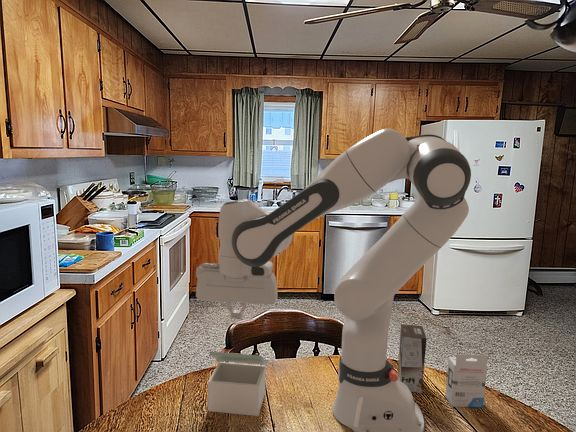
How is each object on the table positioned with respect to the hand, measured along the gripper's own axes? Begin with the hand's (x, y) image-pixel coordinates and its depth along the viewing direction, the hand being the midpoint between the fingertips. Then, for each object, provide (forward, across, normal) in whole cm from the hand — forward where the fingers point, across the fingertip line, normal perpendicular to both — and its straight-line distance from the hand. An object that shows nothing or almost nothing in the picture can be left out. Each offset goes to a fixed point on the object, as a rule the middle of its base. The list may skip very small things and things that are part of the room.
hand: (236, 318), depth 101 cm
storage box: (+24, 0, +2) cm, 24 cm away
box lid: (+13, 0, +3) cm, 13 cm away
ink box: (+24, +60, +11) cm, 65 cm away
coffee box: (+24, +47, +18) cm, 56 cm away
